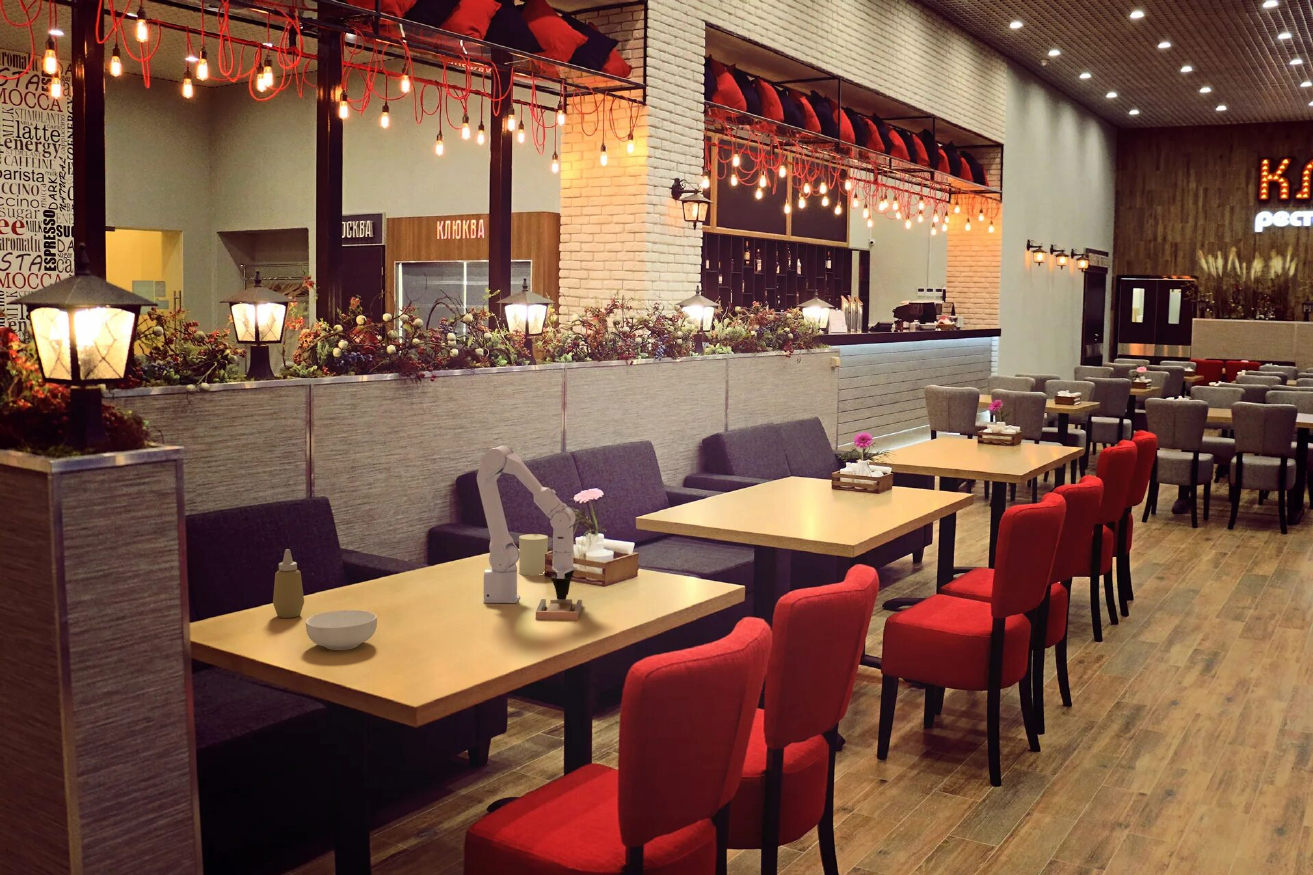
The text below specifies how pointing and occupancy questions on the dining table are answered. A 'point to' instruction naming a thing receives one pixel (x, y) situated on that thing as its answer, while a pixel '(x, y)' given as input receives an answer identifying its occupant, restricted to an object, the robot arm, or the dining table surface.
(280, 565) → the squeeze bottle
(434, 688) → the dining table surface
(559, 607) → the brown slab
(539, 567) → the can
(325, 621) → the cereal bowl
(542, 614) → the tray
